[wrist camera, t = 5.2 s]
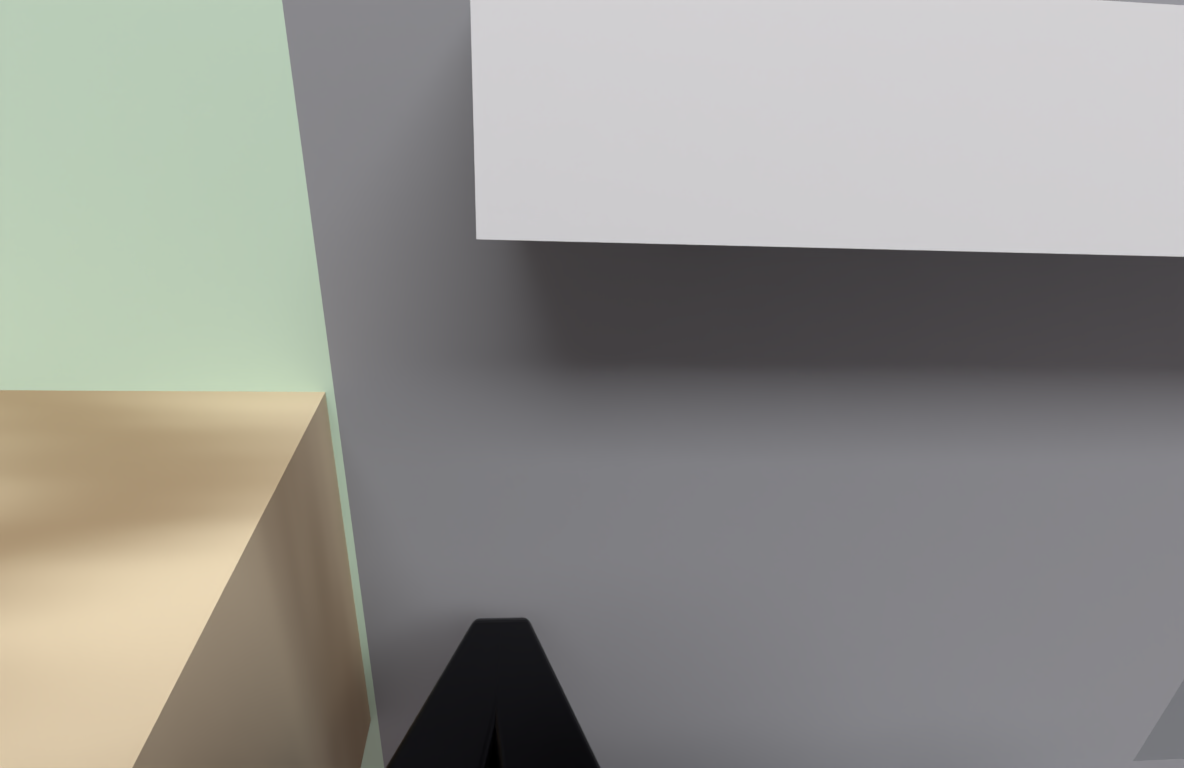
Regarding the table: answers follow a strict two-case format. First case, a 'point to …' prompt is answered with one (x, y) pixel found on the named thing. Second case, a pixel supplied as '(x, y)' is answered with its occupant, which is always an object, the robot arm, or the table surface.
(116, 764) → the maple block
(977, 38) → the stepped grey tray
